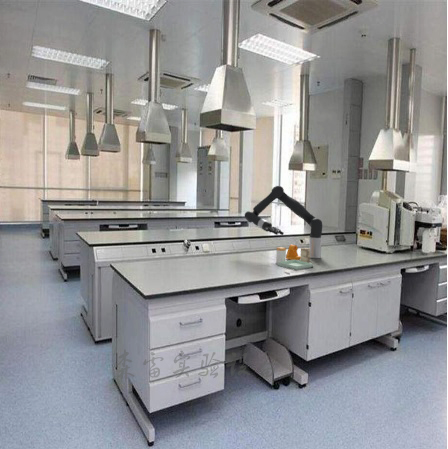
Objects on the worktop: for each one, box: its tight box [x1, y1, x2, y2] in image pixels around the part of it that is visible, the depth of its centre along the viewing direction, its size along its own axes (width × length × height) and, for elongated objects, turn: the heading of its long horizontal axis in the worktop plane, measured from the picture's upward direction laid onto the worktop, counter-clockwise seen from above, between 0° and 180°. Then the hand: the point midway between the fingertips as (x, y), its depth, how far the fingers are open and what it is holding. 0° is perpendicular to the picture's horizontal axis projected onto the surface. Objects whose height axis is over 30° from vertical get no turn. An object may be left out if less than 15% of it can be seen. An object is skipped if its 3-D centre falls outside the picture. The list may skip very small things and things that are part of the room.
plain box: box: [299, 247, 311, 263], centre depth 284 cm, size 5×5×12 cm
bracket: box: [286, 244, 301, 261], centre depth 301 cm, size 11×7×12 cm, turn 117°
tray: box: [277, 259, 314, 271], centre depth 273 cm, size 18×18×3 cm
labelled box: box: [275, 246, 287, 264], centre depth 285 cm, size 5×5×12 cm
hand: (280, 233), depth 288 cm, fingers open, 8 cm apart
